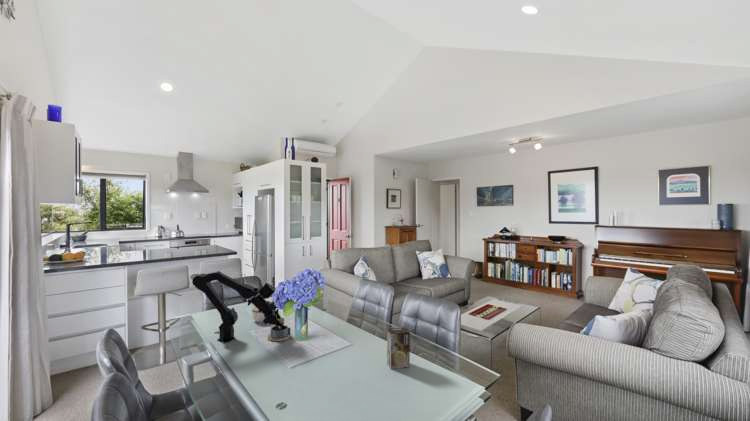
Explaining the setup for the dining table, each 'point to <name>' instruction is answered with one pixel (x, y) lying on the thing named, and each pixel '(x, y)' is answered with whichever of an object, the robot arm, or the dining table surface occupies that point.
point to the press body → (279, 333)
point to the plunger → (281, 322)
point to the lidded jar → (257, 315)
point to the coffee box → (398, 348)
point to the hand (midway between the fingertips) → (282, 324)
